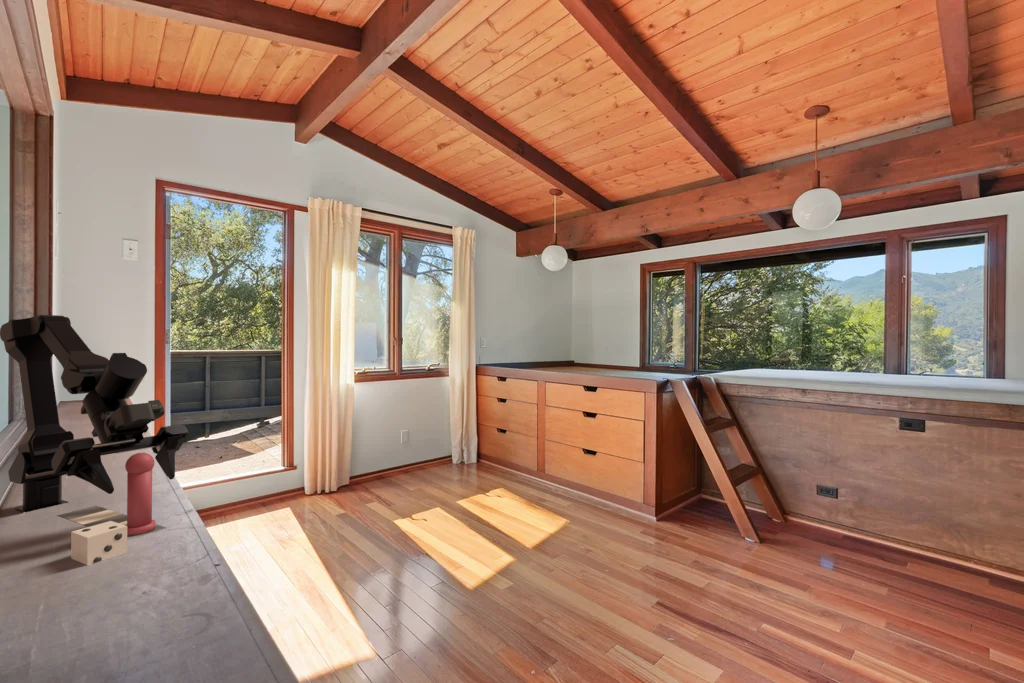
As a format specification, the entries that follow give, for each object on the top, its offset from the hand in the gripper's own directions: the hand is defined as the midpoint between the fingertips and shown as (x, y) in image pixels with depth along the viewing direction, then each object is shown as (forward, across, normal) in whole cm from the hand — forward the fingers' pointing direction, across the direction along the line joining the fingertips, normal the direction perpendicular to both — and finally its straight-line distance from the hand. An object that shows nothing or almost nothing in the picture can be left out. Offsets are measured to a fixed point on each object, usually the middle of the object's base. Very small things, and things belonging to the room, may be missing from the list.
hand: (143, 484), depth 82 cm
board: (-1, 0, +14) cm, 15 cm away
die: (+9, -8, +4) cm, 13 cm away
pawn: (+5, 0, +7) cm, 8 cm away
